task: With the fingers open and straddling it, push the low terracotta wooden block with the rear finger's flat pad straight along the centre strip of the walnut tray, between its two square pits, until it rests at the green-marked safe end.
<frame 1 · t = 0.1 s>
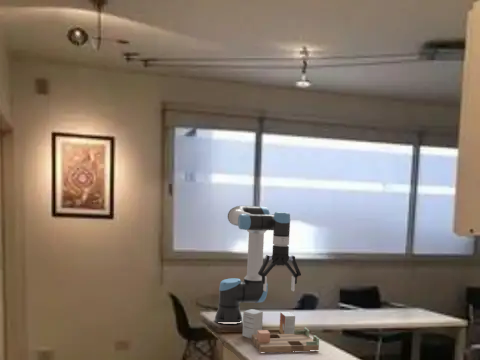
hand: (278, 290, 229), 28 cm above the kitchen counter, tool pointing down, fingers open, 13 cm apart
block: (263, 340, 234), point 3 cm above the kitchen counter, touching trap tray
supplement box: (252, 336, 249), on the kitchen counter
small box: (286, 334, 255), on the kitchen counter
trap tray: (284, 345, 236), on the kitchen counter
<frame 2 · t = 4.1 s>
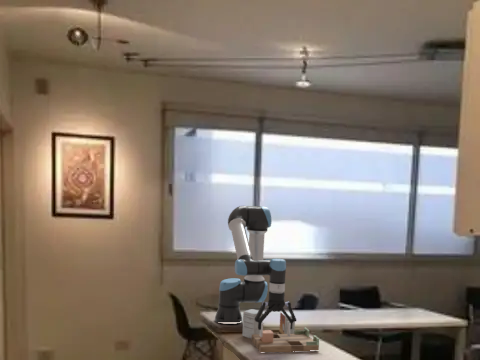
hand: (274, 336, 235), 5 cm above the kitchen counter, tool pointing down, fingers open, 13 cm apart
block: (266, 340, 234), point 3 cm above the kitchen counter, touching gripper, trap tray
everything else where it was.
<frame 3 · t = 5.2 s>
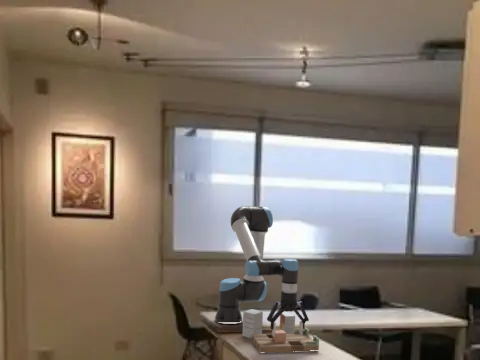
hand: (287, 335, 236), 5 cm above the kitchen counter, tool pointing down, fingers open, 13 cm apart
block: (279, 340, 235), point 3 cm above the kitchen counter, touching gripper, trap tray
everything else where it was.
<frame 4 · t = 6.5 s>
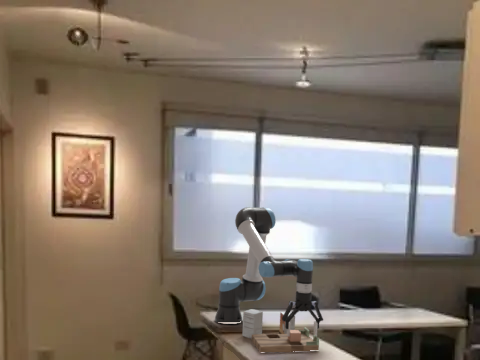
hand: (301, 335, 238), 5 cm above the kitchen counter, tool pointing down, fingers open, 13 cm apart
block: (294, 339, 237), point 3 cm above the kitchen counter, touching gripper
everything else where it was.
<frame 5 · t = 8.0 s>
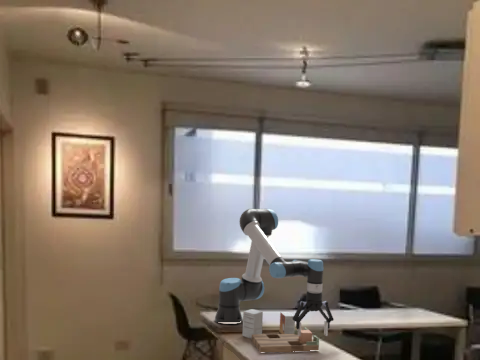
hand: (312, 335, 239), 5 cm above the kitchen counter, tool pointing down, fingers open, 13 cm apart
block: (305, 339, 238), point 3 cm above the kitchen counter, touching gripper, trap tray
everything else where it was.
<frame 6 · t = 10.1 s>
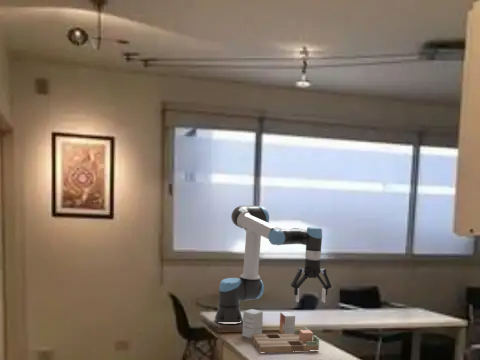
hand: (310, 301, 242), 20 cm above the kitchen counter, tool pointing down, fingers open, 13 cm apart
block: (305, 339, 238), point 3 cm above the kitchen counter, touching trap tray
everything else where it was.
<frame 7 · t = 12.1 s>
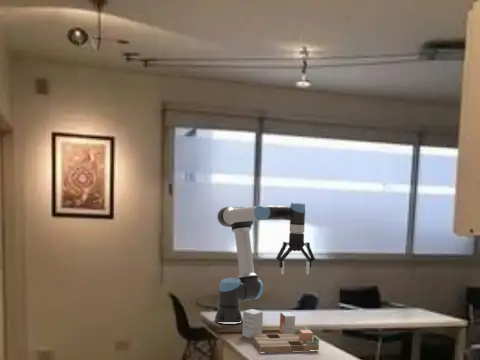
hand: (294, 274, 253), 32 cm above the kitchen counter, tool pointing down, fingers open, 13 cm apart
nothing on the kitchen counter moved.
at the end: block 0.7 cm from the target spot on the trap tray, point 3.0 cm above the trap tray's base; block tilted 0° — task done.
